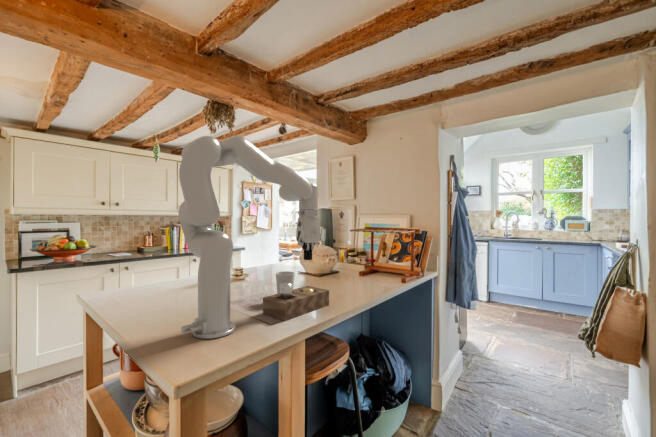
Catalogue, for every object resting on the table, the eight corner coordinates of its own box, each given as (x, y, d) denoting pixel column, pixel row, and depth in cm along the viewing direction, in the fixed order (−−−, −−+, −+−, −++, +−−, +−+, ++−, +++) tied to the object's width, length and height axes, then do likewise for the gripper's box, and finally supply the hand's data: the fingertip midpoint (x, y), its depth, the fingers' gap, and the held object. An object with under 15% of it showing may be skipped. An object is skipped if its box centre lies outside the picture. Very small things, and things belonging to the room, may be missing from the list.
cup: (293, 304, 120) (293, 275, 120) (273, 304, 120) (273, 275, 120) (295, 298, 128) (295, 271, 128) (277, 298, 128) (277, 271, 128)
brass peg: (308, 305, 115) (308, 291, 115) (300, 303, 118) (300, 289, 118) (315, 303, 118) (315, 289, 118) (307, 301, 121) (307, 287, 121)
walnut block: (284, 321, 100) (284, 303, 100) (262, 313, 108) (262, 297, 108) (329, 305, 119) (329, 290, 119) (307, 299, 127) (307, 285, 127)
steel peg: (285, 301, 106) (285, 285, 106) (277, 299, 109) (277, 283, 109) (294, 298, 109) (294, 283, 109) (286, 296, 112) (286, 281, 112)
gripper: (301, 214, 110) (301, 262, 110) (327, 214, 121) (326, 258, 121) (288, 214, 115) (287, 260, 115) (313, 214, 126) (313, 257, 126)
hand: (307, 259), depth 118 cm, fingers closed
